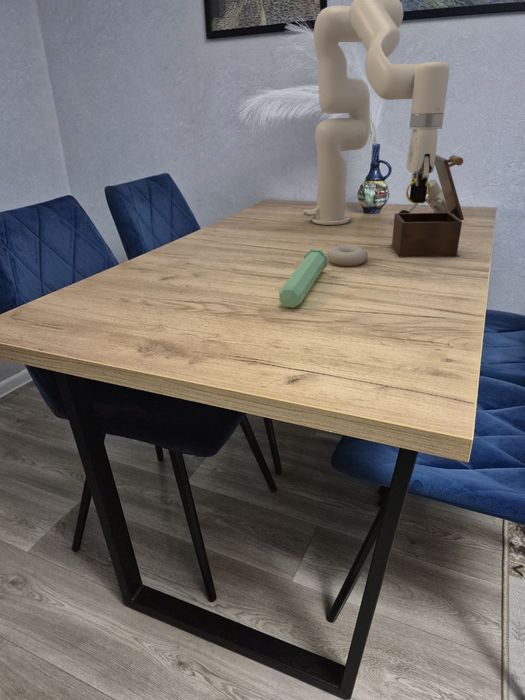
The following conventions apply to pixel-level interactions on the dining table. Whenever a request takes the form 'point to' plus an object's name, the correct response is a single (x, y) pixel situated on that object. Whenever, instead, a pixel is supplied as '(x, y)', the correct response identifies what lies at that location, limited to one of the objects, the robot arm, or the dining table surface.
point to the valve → (433, 199)
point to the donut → (347, 255)
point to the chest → (426, 234)
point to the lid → (449, 183)
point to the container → (303, 278)
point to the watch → (408, 189)
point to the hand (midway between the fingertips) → (417, 200)
